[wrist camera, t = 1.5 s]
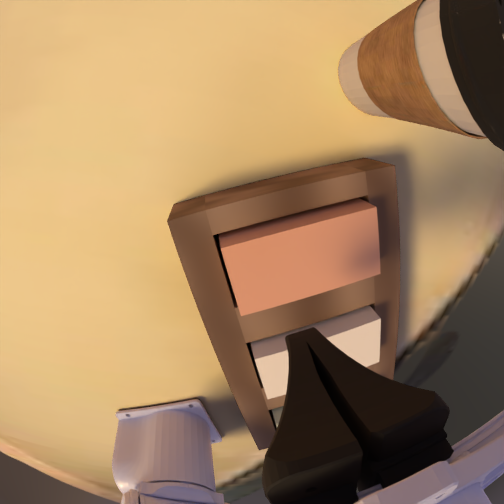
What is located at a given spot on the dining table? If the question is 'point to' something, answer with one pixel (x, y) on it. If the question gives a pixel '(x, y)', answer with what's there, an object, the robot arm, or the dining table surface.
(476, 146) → the dining table surface
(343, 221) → the terracotta button
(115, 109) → the dining table surface
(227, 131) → the dining table surface
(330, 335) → the cream button
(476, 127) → the coffee cup
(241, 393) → the button board
